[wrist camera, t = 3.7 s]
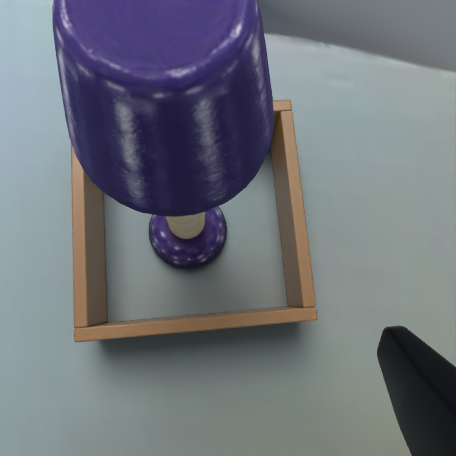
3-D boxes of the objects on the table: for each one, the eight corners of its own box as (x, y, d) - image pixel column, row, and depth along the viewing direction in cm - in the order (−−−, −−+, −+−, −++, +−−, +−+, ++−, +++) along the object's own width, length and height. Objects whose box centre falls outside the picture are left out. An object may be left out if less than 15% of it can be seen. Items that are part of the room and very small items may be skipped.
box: (300, 316, 21) (317, 319, 18) (96, 335, 21) (73, 342, 17) (278, 128, 23) (290, 99, 20) (91, 140, 22) (70, 111, 19)
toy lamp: (159, 178, 22) (22, -165, 6) (240, 191, 22) (332, -110, 6) (142, 262, 21) (-73, 136, 5) (227, 275, 21) (293, 195, 5)
